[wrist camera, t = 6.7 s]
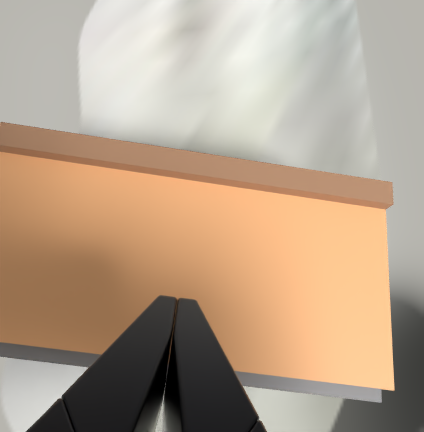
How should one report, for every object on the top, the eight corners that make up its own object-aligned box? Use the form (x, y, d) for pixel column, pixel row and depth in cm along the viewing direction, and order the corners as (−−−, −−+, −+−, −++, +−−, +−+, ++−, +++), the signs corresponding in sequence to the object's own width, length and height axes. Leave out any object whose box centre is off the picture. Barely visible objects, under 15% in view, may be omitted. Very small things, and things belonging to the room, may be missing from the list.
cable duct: (329, 388, 19) (381, 402, 14) (4, 348, 18) (-56, 349, 13) (331, 226, 22) (375, 193, 17) (50, 185, 21) (15, 138, 16)
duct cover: (382, 388, 14) (403, 392, 13) (-53, 335, 13) (-77, 333, 12) (375, 195, 17) (392, 182, 16) (14, 140, 16) (1, 122, 15)
